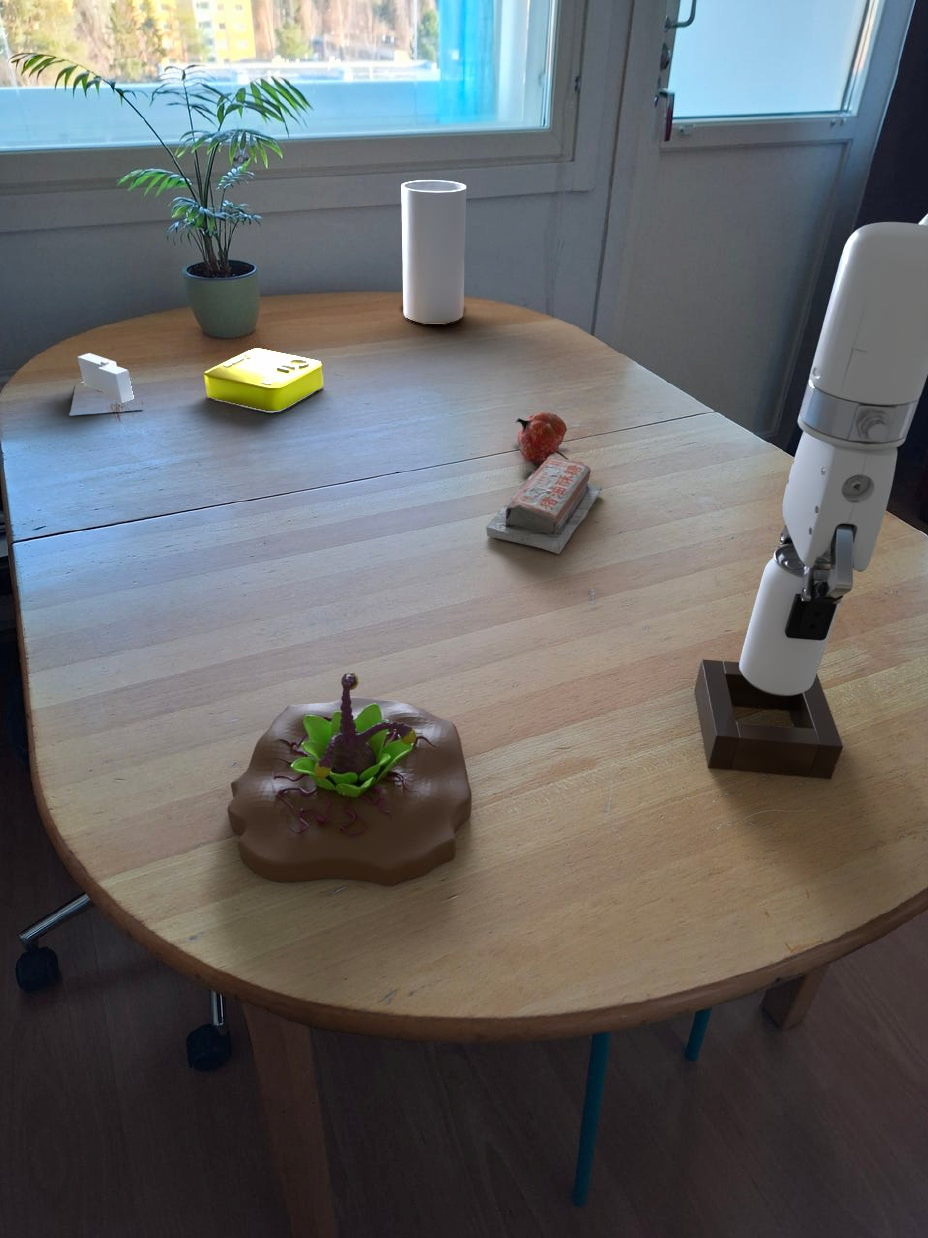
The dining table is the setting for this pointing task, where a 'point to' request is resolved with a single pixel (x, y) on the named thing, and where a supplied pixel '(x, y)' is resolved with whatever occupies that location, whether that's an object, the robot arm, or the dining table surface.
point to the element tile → (264, 379)
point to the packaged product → (547, 506)
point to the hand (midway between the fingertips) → (795, 610)
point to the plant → (351, 792)
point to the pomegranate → (540, 436)
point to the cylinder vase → (433, 250)
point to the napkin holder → (106, 377)
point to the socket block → (764, 726)
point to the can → (781, 630)
